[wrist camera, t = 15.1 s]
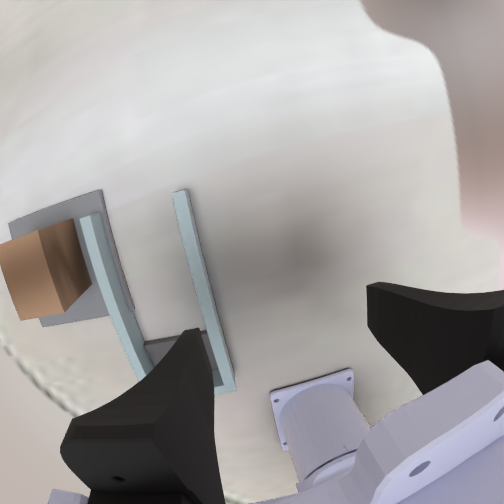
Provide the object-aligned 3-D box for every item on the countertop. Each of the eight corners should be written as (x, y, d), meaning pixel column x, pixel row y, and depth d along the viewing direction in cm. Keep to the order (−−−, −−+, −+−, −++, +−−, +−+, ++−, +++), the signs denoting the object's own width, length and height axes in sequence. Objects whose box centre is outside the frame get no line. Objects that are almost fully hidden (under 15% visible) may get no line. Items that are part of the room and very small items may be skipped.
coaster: (134, 307, 21) (132, 311, 20) (45, 324, 20) (42, 327, 19) (101, 189, 18) (98, 190, 18) (12, 222, 18) (8, 223, 17)
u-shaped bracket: (233, 371, 23) (236, 390, 21) (154, 385, 23) (150, 404, 20) (187, 188, 19) (184, 190, 17) (93, 213, 19) (79, 218, 16)
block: (92, 284, 19) (64, 312, 14) (52, 293, 19) (20, 320, 14) (73, 217, 18) (37, 230, 13) (33, 231, 18) (-5, 246, 13)
